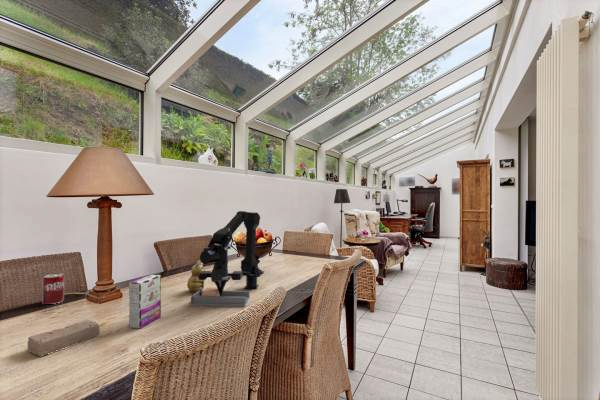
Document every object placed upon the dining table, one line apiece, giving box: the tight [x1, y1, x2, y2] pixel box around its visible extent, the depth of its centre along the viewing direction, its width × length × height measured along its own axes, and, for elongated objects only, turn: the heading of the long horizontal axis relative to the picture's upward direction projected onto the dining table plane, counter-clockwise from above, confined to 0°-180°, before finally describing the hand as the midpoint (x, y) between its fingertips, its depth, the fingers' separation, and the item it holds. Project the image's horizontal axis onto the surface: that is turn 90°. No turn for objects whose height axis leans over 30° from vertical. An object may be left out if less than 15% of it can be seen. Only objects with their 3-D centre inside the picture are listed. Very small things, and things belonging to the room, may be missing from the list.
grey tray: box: [189, 289, 251, 308], centre depth 130 cm, size 12×24×4 cm, turn 90°
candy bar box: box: [128, 274, 162, 329], centre depth 108 cm, size 11×5×16 cm, turn 168°
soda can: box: [41, 273, 65, 305], centre depth 127 cm, size 7×7×12 cm
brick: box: [27, 319, 101, 357], centre depth 92 cm, size 17×8×5 cm, turn 152°
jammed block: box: [202, 286, 220, 296], centre depth 131 cm, size 6×6×4 cm
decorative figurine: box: [186, 259, 206, 293], centre depth 146 cm, size 10×8×15 cm
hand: (220, 294), depth 130 cm, fingers closed
